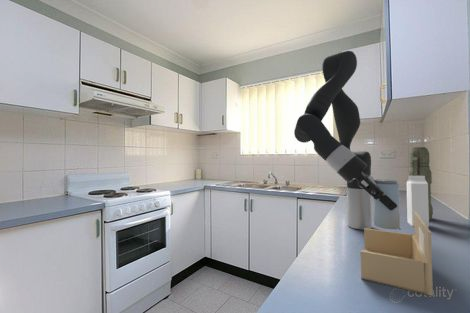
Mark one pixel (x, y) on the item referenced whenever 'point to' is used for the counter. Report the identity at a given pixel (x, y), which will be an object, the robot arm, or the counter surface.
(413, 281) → the mailer
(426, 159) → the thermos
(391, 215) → the canister
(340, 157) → the robot arm
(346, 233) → the counter surface
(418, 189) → the milk
